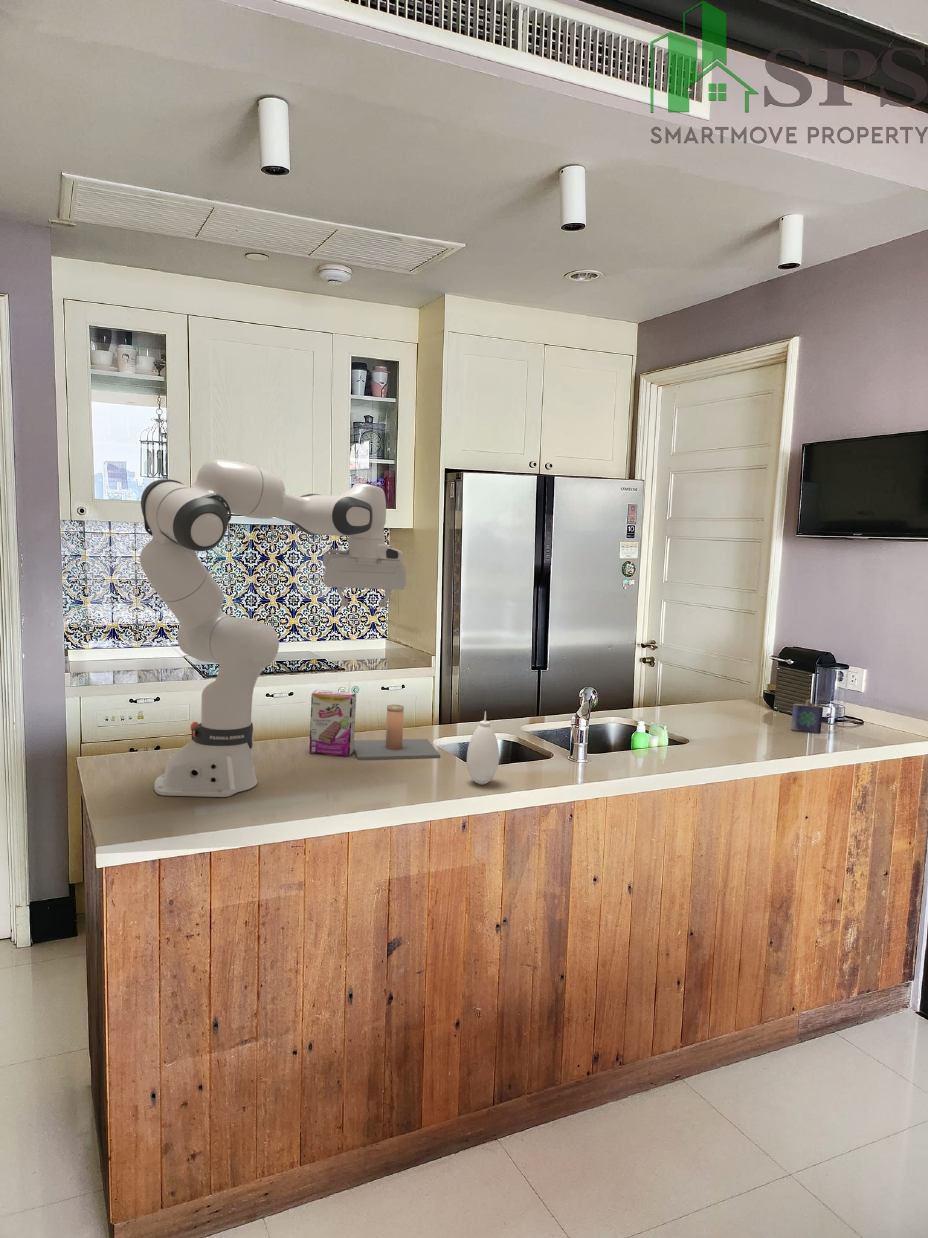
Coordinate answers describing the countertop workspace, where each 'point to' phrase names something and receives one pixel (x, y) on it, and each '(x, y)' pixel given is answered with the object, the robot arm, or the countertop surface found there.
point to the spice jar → (394, 727)
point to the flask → (807, 718)
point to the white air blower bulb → (483, 753)
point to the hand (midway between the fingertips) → (363, 606)
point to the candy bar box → (332, 723)
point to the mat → (408, 751)
